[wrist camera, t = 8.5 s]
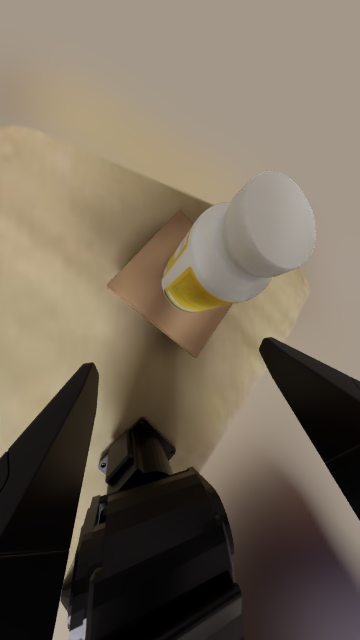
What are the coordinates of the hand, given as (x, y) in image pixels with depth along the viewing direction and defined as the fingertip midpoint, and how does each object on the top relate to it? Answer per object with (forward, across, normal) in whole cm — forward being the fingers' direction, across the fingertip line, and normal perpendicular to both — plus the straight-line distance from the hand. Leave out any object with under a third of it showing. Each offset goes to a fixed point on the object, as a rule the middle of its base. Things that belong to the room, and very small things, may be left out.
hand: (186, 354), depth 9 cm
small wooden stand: (+14, -2, +4) cm, 15 cm away
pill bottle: (+11, -3, +1) cm, 12 cm away
